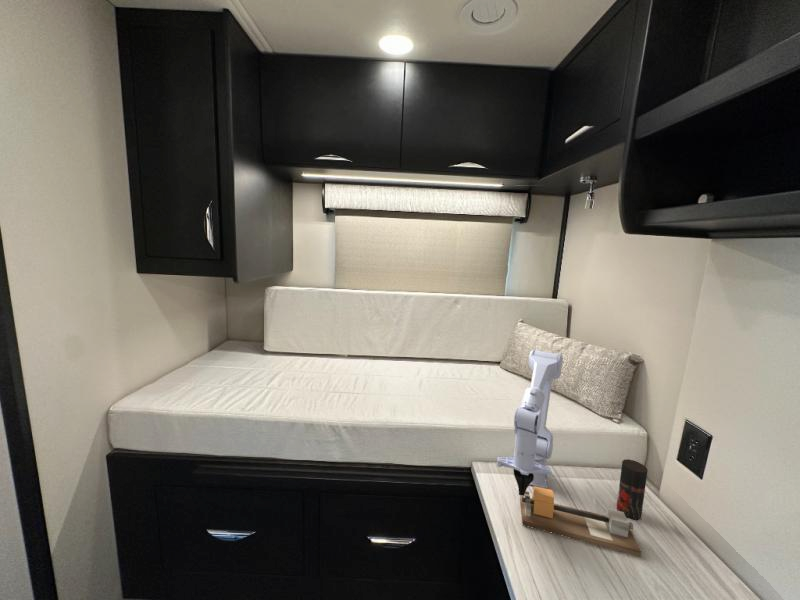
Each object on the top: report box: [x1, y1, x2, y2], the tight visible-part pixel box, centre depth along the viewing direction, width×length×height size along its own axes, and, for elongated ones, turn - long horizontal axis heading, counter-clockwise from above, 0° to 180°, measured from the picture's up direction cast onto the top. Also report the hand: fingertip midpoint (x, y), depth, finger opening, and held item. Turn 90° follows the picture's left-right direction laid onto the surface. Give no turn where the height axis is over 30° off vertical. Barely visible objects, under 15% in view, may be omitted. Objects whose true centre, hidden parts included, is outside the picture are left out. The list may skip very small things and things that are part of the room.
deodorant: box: [616, 458, 649, 521], centre depth 91 cm, size 6×6×15 cm
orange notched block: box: [531, 486, 555, 518], centre depth 88 cm, size 4×5×6 cm
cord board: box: [519, 489, 642, 557], centre depth 86 cm, size 10×28×6 cm, turn 72°
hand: (521, 493), depth 90 cm, fingers closed
